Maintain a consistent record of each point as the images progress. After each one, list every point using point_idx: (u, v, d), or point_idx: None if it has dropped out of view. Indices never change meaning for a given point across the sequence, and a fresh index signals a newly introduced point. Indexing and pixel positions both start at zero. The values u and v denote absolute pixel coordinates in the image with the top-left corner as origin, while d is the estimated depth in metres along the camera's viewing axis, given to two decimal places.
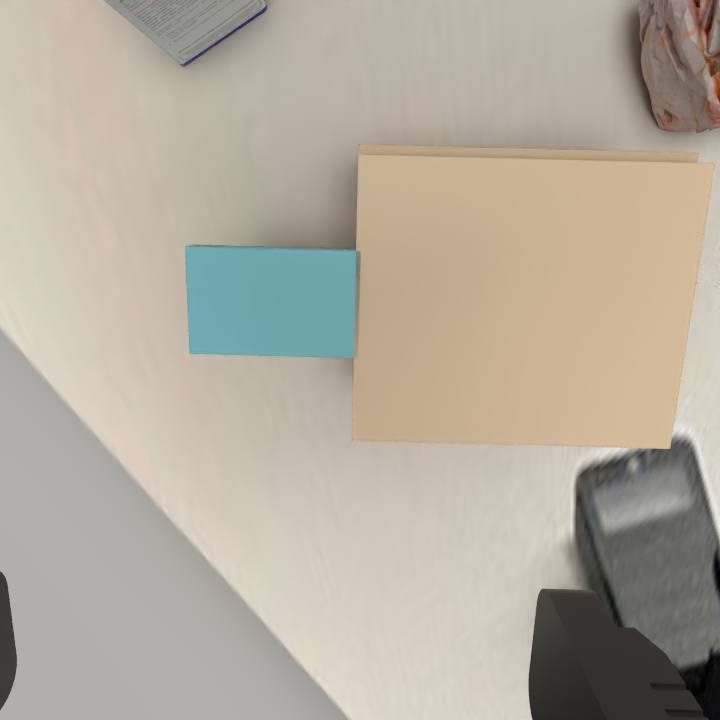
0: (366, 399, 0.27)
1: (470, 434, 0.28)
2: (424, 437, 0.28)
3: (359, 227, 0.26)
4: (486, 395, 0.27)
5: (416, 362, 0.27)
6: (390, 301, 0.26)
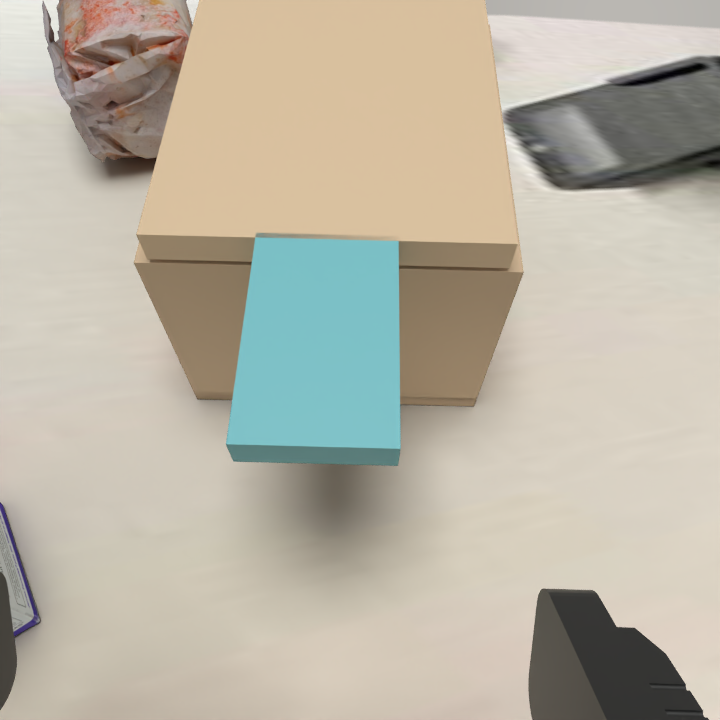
0: (456, 227, 0.20)
1: (491, 131, 0.22)
2: (501, 172, 0.21)
3: (225, 233, 0.20)
4: (439, 119, 0.23)
5: (401, 180, 0.21)
6: (322, 204, 0.21)
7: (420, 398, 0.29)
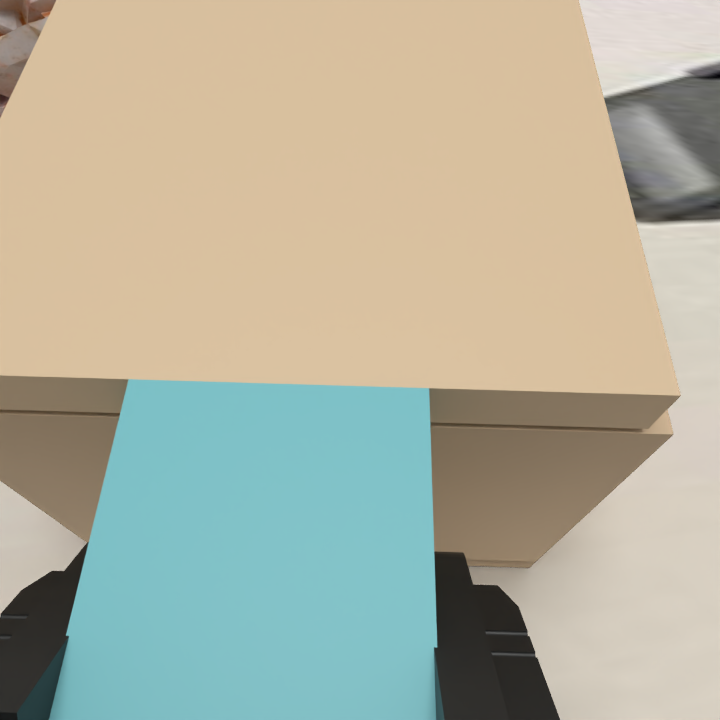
0: (547, 356, 0.10)
1: (595, 153, 0.12)
2: (625, 233, 0.11)
3: (67, 370, 0.10)
4: (499, 129, 0.12)
5: (432, 250, 0.11)
6: (274, 302, 0.10)
7: None
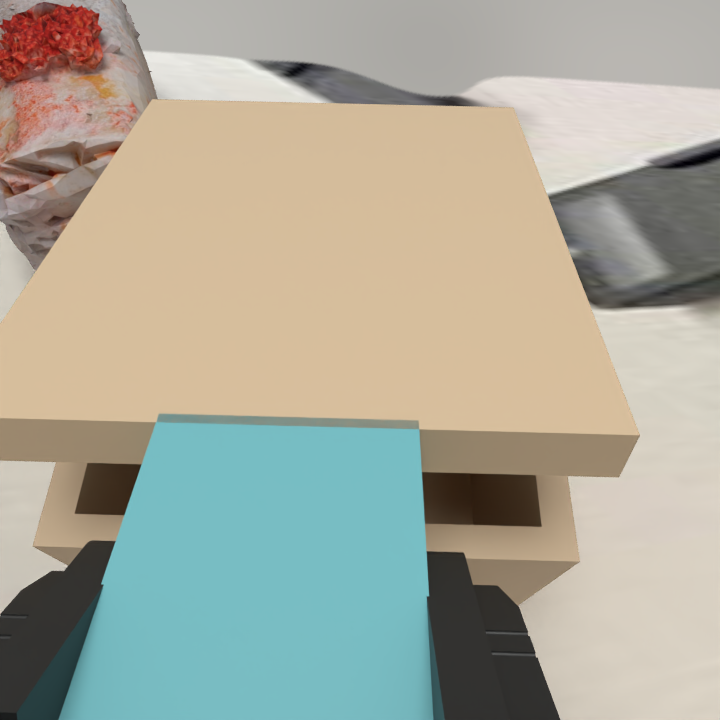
0: (521, 406, 0.11)
1: (553, 259, 0.14)
2: (582, 315, 0.13)
3: (102, 415, 0.11)
4: (473, 243, 0.15)
5: (419, 327, 0.13)
6: (284, 365, 0.12)
7: None
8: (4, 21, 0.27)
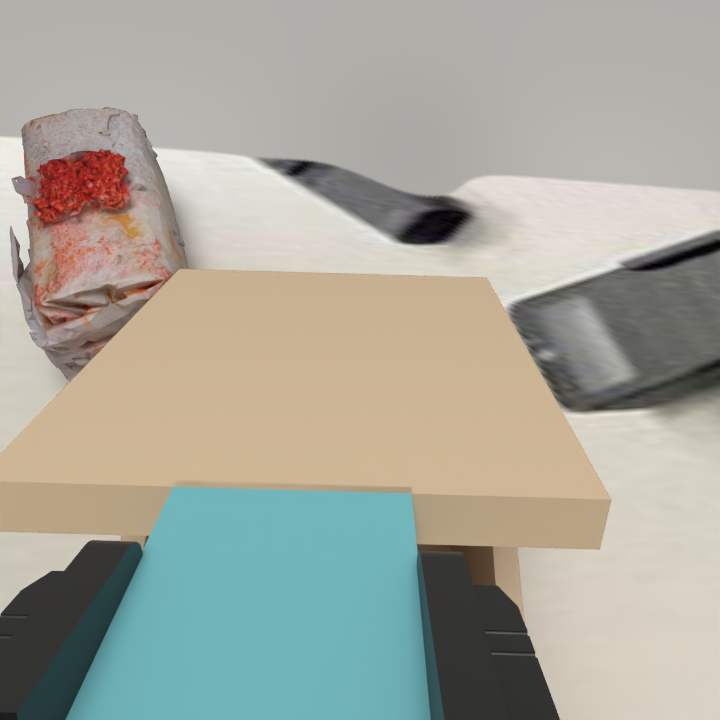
0: (503, 477, 0.12)
1: (526, 377, 0.17)
2: (554, 415, 0.15)
3: (124, 481, 0.12)
4: (455, 365, 0.17)
5: (410, 422, 0.14)
6: (290, 447, 0.13)
7: None
8: (41, 166, 0.30)
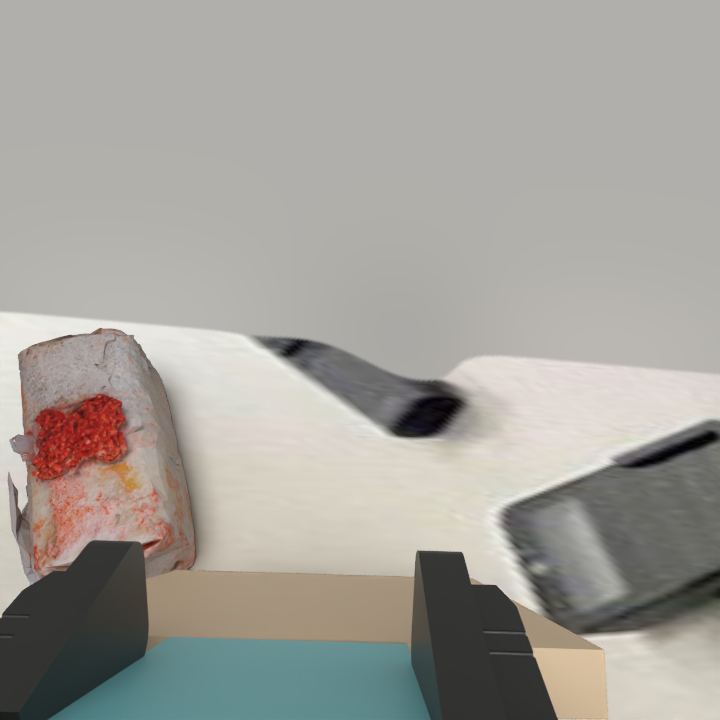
0: None
1: None
2: (544, 622, 0.15)
3: None
4: None
5: (403, 621, 0.15)
6: (285, 626, 0.13)
7: None
8: (38, 416, 0.30)
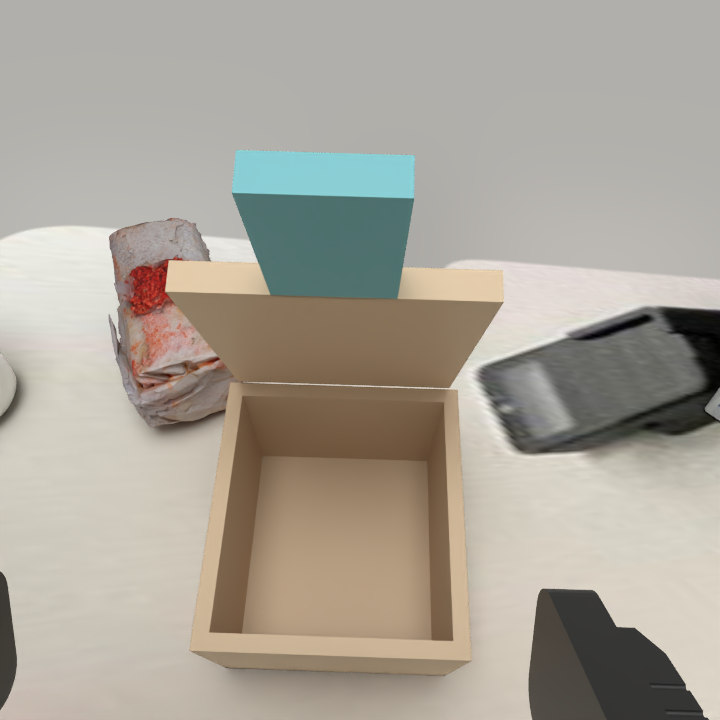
0: None
1: None
2: None
3: None
4: None
5: None
6: None
7: (402, 673, 0.37)
8: (132, 271, 0.41)
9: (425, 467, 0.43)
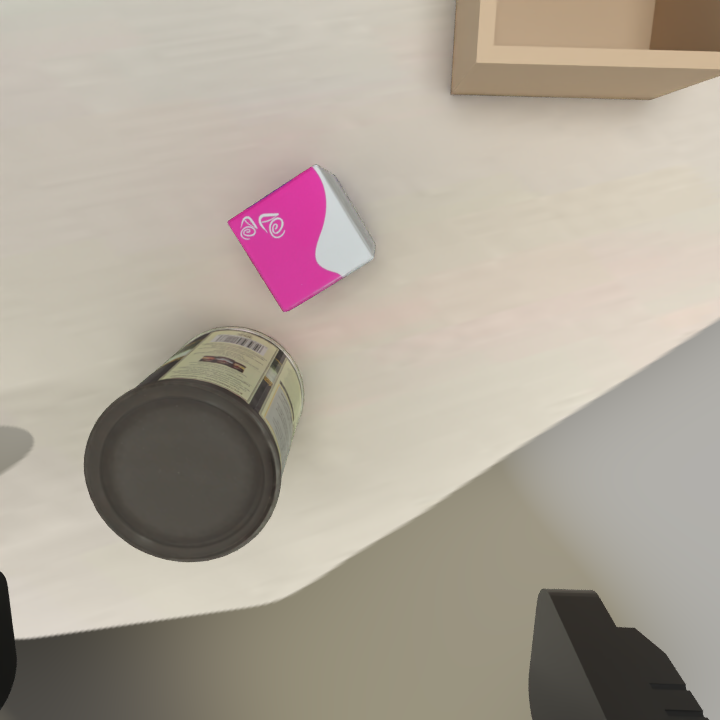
0: None
1: None
2: None
3: None
4: None
5: None
6: None
7: (614, 97, 0.40)
8: None
9: None
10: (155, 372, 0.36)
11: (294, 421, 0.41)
